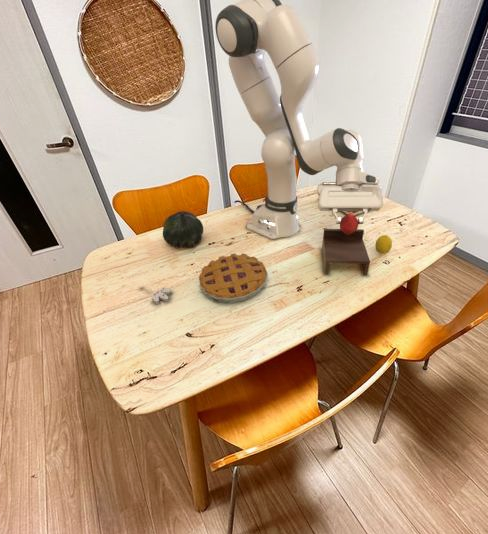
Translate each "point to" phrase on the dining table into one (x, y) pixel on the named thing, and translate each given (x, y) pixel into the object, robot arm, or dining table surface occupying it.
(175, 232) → the squash
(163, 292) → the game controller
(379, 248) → the lemon
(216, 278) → the pie
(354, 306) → the dining table surface
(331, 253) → the shelf
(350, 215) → the red round solid
